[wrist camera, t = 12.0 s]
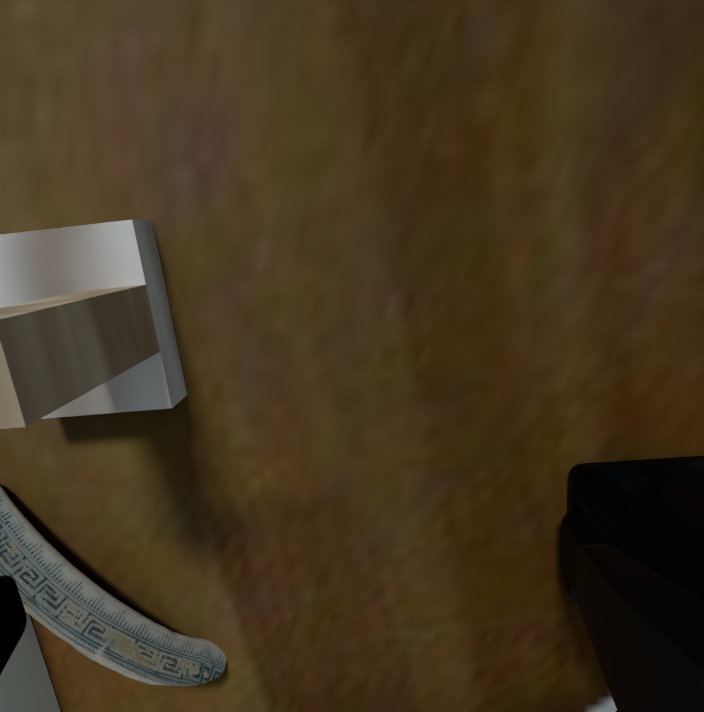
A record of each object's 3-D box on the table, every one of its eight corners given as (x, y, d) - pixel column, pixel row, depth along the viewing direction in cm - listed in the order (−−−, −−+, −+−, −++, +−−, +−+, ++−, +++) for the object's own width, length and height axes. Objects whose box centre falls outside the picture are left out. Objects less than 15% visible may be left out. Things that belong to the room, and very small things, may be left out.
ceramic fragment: (233, 651, 24) (204, 729, 20) (167, 704, 25) (128, 787, 21) (11, 458, 22) (-67, 504, 18) (-50, 524, 23) (-134, 581, 19)
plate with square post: (153, 220, 18) (-38, 213, 10) (188, 394, 20) (51, 512, 12) (9, 236, 19) (-288, 242, 10) (56, 405, 20) (-167, 526, 12)
